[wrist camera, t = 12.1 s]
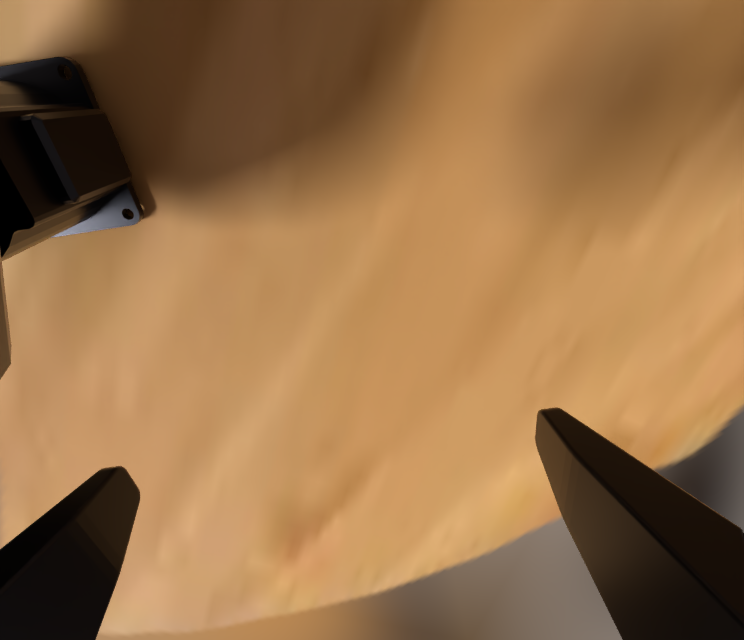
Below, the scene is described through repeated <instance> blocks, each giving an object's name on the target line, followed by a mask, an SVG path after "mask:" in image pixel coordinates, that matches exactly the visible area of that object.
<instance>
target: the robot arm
mask: <svg viewBox="0 0 744 640" xmlns="http://www.w3.org/2000/svg"><path fill="white" fill-rule="evenodd" d="M65 66H67V67H69V68H70V70H71V72H72V77H71V79H69V78H67V76H66V75H65V73H64V68H65ZM130 178H131V173H130V171H129V168H128V166H127V164H126V161H125V159H124V156H123V154H122V152H121V149H120V147H119V145H118V142H117V140H116V137H115V135H114V133H113V130H112V128H111V125H110V123H109V121H108V118H107V116H106V115H105V114H104V113H103V112H102V111H100V108H99V106H98V104H97V101H96V99H95V97H94V94H93V92H92V90H91V87H90V85H89V82H88V80H87V78H86V75H85V73H84V71H83V69H82V67H81V66H80V64H78V63H77V62H76V61H75V60H73V59H71V58H66V57H54V58H48V59H42V60H37V61H31V62H25V63H19V64H13V65H7V66H1V67H0V379H1V378H2V376H3V375H4V373H5V372H6V370H7V369H8V367H9V366H10V364H11V340H10V331H9V322H8V313H7V304H6V296H5V287H4V278H3V269H2V261H4V260H6V259H8V258H10V257H12V256H14V255H16V254H18V253H20V252H22V251H24V250H26V249H28V248H30V247H32V246H34V245H36V244H38V243H40V242H42V241H44V240H46V239H48V238H52V237H58V236H65V235H71V234H78V233H84V232H91V231H97V230H104V229H110V228H117V227H123V226H130V225H134V224H137V223H138V222H140V221H141V220H142V219H143V215H144V214H143V210H142V208H141V205H140V203H139V200H138V198H137V196H136V193H135V191H134V189H133V186H132V184H131V182H130ZM126 209H130V210H131V211H132V212H133V214H134V217H130V216H129V215H128V214H127V212H126ZM535 441H536V446H537V449H538V452H539V455H540V458H541V460H542V463H543V466H544V468H545V471H546V474H547V477H548V479H549V482H550V485H551V488H552V490H553V493H554V496H555V498H556V501H557V504H558V507H559V509H560V512H561V514H562V517H563V519H564V521H565V523H566V525H567V528H568V530H569V532H570V534H571V536H572V538H573V540H574V542H575V544H576V546H577V548H578V550H579V552H580V554H581V556H582V558H583V560H584V562H585V564H586V566H587V568H588V570H589V572H590V574H591V577H592V579H593V580H594V583H595V585H596V586H597V589H598V591H599V593H600V595H601V597H602V599H603V601H604V603H605V605H606V607H607V609H608V611H609V613H610V615H611V617H612V619H613V621H614V623H615V625H616V627H617V629H618V631H619V633H620V635H621V637H622V639H623V640H744V533H743V531H742V529H741V528H740V527H738V526H737V525H735V524H733V523H732V522H731V521H729V520H728V519H726V518H725V517H723V516H722V515H720V514H719V513H717V512H716V511H714V510H713V509H711V508H709V507H708V506H707V505H705V504H704V503H702V502H701V501H699V500H697V499H696V498H695V497H693V496H692V495H690V494H689V493H687V492H685V491H684V490H683V489H681V488H680V487H678V486H677V485H675V484H673V483H672V482H671V481H669V480H668V479H666V478H664V477H663V476H661V475H660V474H658V473H657V472H655V471H654V470H652V469H651V468H649V467H648V466H646V465H645V464H643V463H642V462H640V461H639V460H637V459H636V458H634V457H633V456H631V455H630V454H628V453H627V452H625V451H624V450H622V449H621V448H619V447H618V446H616V445H615V444H613V443H612V442H610V441H609V440H607V439H606V438H604V437H603V436H601V435H600V434H598V433H597V432H595V431H594V430H592V429H591V428H589V427H588V426H586V425H585V424H583V423H582V422H580V421H579V420H577V419H576V418H574V417H573V416H571V415H570V414H568V413H567V412H565V411H564V410H562V409H560V408H549V409H541V410H539V412H538V414H537V423H536V435H535ZM139 502H140V491H139V489H138V487H137V485H136V484H135V482H134V481H133V479H132V478H131V476H130V475H129V473H128V472H127V470H126V469H125V468H124V467H122V466H116V467H109V468H103V469H101V470H99V471H98V472H97V473H95V474H94V475H93V476H92V477H90V478H89V479H88V480H87V481H85V482H84V483H83V484H82V485H80V486H79V487H78V488H77V489H75V490H74V491H73V492H72V493H70V494H69V495H68V496H66V497H65V498H64V499H63V500H61V501H60V502H59V503H58V504H56V505H55V506H54V507H53V508H51V509H50V510H49V511H48V512H46V513H45V514H44V515H43V516H41V517H40V518H39V519H38V520H36V521H35V522H34V523H33V524H31V525H30V526H29V527H28V528H26V529H25V530H24V531H23V532H21V533H20V534H19V535H18V536H16V537H15V538H14V539H13V540H11V541H10V542H9V543H8V544H6V545H5V546H4V547H3V548H1V549H0V640H95V639H96V637H97V634H98V631H99V629H100V626H101V623H102V621H103V618H104V615H105V613H106V610H107V607H108V605H109V602H110V599H111V597H112V594H113V591H114V589H115V586H116V583H117V580H118V577H119V574H120V571H121V568H122V564H123V561H124V557H125V554H126V550H127V546H128V543H129V539H130V535H131V532H132V528H133V524H134V521H135V517H136V513H137V509H138V506H139Z"/></svg>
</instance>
